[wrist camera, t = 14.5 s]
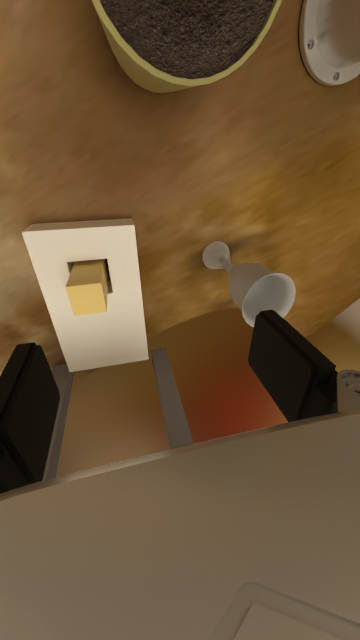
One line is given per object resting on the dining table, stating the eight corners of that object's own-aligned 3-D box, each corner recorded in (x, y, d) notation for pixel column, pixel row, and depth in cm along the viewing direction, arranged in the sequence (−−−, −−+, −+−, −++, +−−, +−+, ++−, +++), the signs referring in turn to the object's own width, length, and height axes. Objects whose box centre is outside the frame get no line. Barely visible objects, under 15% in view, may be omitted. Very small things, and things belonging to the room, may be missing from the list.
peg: (77, 255, 39) (65, 286, 29) (103, 253, 40) (100, 283, 30) (83, 279, 41) (73, 316, 31) (108, 276, 42) (106, 311, 32)
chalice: (232, 272, 47) (289, 323, 32) (197, 277, 46) (239, 332, 31) (235, 232, 43) (301, 268, 28) (197, 236, 42) (244, 277, 27)
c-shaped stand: (37, 322, 43) (-79, 573, 17) (163, 306, 47) (228, 489, 21) (58, 376, 50) (-1, 614, 24) (166, 359, 54) (218, 545, 28)
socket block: (32, 223, 35) (21, 231, 31) (131, 218, 38) (134, 224, 34) (73, 354, 48) (69, 372, 44) (145, 343, 51) (148, 359, 47)
